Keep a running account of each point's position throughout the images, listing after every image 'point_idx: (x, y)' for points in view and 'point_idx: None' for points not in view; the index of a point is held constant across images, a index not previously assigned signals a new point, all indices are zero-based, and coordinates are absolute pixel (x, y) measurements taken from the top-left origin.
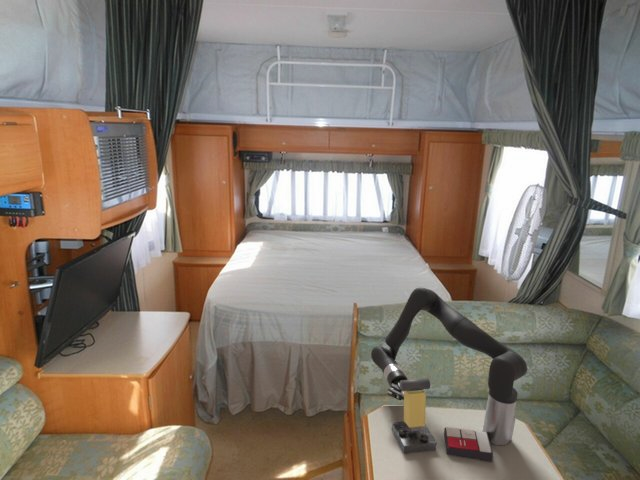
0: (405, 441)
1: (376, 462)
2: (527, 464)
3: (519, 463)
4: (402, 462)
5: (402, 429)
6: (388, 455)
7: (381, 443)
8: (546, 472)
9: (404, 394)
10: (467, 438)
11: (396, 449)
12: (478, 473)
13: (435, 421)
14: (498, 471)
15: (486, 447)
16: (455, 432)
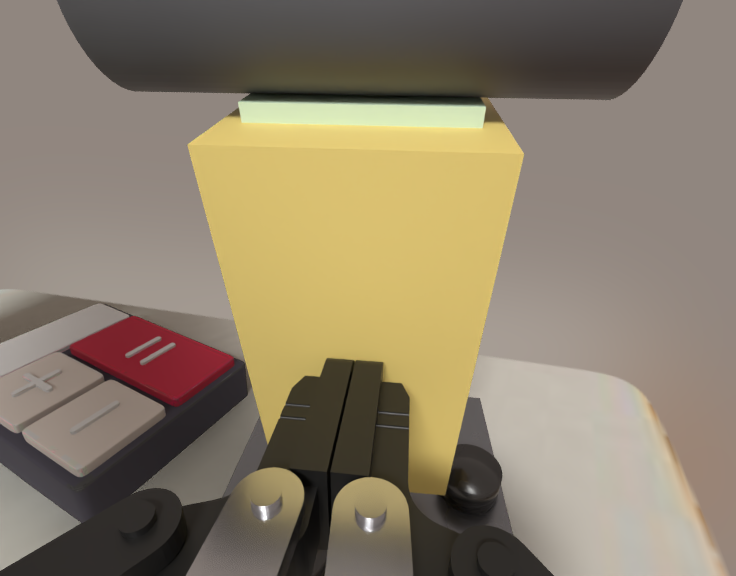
0: (462, 421)
1: (634, 421)
2: (10, 314)
3: (28, 320)
4: (492, 398)
5: (465, 478)
6: (565, 443)
7: (621, 540)
8: (7, 292)
9: (497, 248)
10: (87, 367)
11: (510, 470)
12: (215, 320)
13: None
14: (141, 314)
15: (84, 317)
16: (89, 411)
